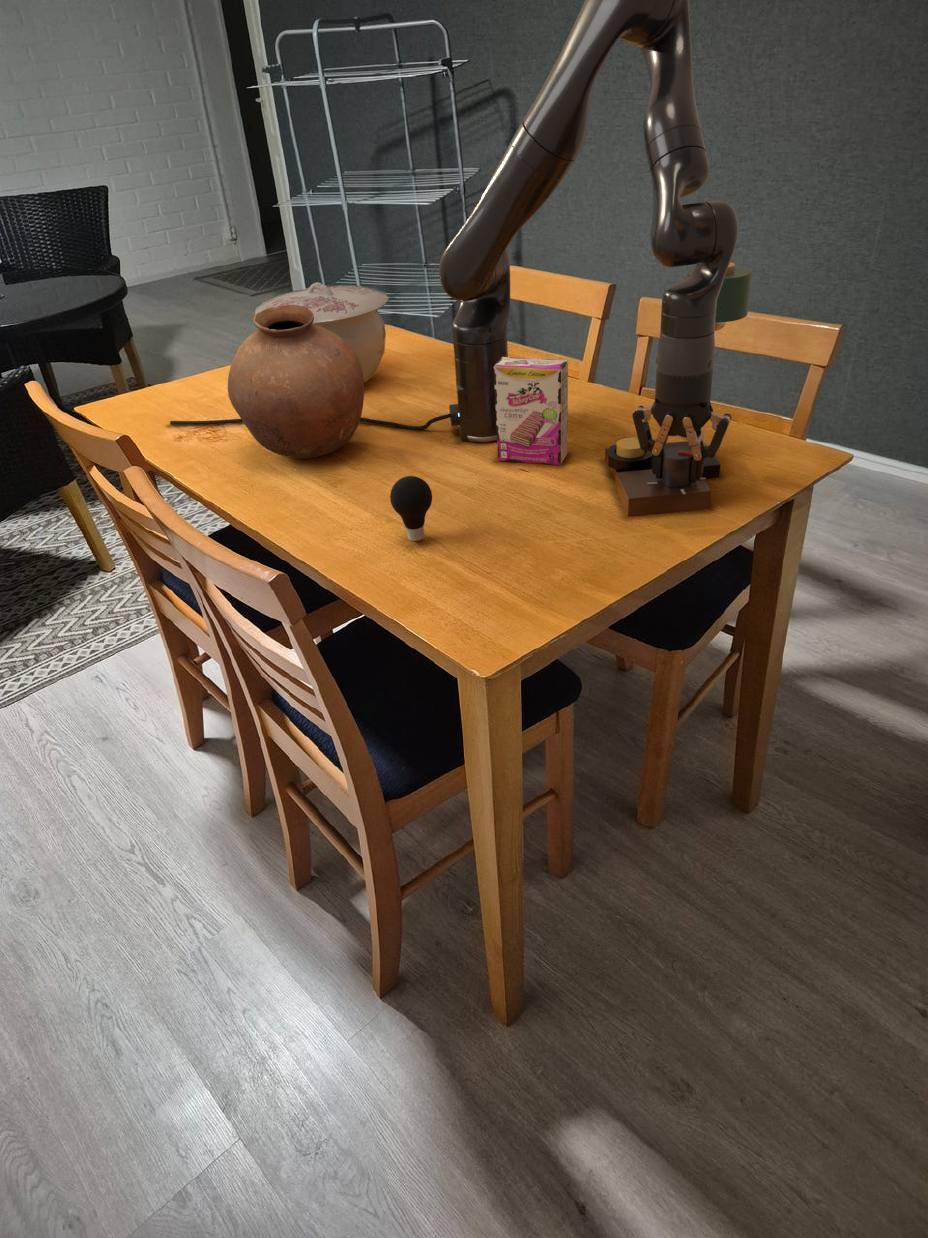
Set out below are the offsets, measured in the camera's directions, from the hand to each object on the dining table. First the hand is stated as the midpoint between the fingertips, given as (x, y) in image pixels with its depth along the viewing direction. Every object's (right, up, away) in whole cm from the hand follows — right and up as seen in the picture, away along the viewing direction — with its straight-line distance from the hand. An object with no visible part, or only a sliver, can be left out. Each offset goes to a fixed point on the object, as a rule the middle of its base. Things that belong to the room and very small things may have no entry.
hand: (676, 478), depth 125 cm
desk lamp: (+7, +9, +11) cm, 16 cm away
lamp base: (0, +3, +11) cm, 11 cm away
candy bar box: (-20, +6, +18) cm, 27 cm away
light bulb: (-38, -10, -3) cm, 40 cm away
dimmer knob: (0, 0, 0) cm, 0 cm away
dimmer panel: (-2, -3, +2) cm, 4 cm away
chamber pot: (-59, +30, +58) cm, 88 cm away
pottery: (-59, +9, +28) cm, 66 cm away
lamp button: (-5, +5, +8) cm, 11 cm away
